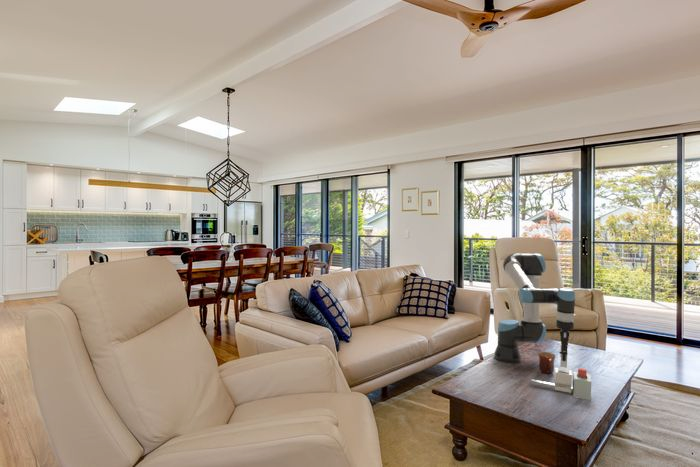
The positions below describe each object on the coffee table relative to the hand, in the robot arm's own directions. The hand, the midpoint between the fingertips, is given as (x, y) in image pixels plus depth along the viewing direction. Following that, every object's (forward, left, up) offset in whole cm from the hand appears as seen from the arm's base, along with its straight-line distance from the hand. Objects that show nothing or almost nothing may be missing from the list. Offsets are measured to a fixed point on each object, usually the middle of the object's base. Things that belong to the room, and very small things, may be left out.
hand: (563, 362), depth 192 cm
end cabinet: (+8, 0, -14) cm, 17 cm away
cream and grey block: (0, 0, -13) cm, 13 cm away
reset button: (+8, 0, -5) cm, 10 cm away
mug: (-7, +20, -15) cm, 26 cm away
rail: (-4, 0, -14) cm, 15 cm away
